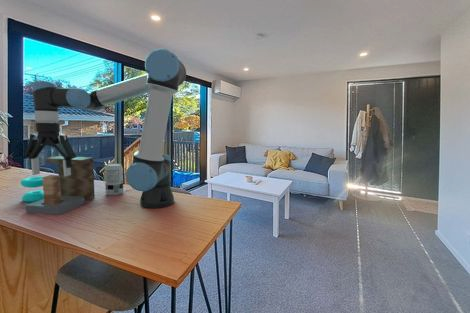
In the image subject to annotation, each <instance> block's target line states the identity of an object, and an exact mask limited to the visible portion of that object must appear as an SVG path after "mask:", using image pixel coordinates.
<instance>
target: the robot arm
mask: <svg viewBox="0 0 470 313" xmlns="http://www.w3.org/2000/svg"><path fill="white" fill-rule="evenodd" d="M144 68H145V72H146V74H142V75H139V76H136V77H132V78H129V79H125V80H123V81H120V82H117V83H114V84H110V85H106V86H103V87H100V88H98V89H94V90H92V91H91V90H90V91H87V90H86V89H84V88H83V87H82V88H78V87H58V86H57V84H56V83H55V82H53V81H46V80H45V81H43V80H35V81H33V82H32V98H33V107H34V110H33V111H34V121H35V131H36V133H30V135H29V141H28V144H27V146H26V149H25V151H24V153H23V157H25V158H28V159H29V165H30V167H31V172H32V176H35V175H40V174H41V172H40V159H39V157H38V156H39V155H40V153H41V152H42V151H43V149H44V147H46V146H47V147H53V148H55V150H56V151H57V152H58V153H59V154H60V156H63V158H64V160H63V169H64V176H69V175H71V168H70V167H72V161H71V160H72V159H73V158H76V157H77V155H76V152H75V151H74V149H73V147H72V145H71V143H70V141H69V139H68V135H67V134H60V133H61V129H60V127H61V126H60V125H61V124H60V123H59V121H60V115H59V113H60V112H59V108H67V109H68V108H69V109H82V110H90V111H100V110H102V109H104V107H107V106H110V105H113V104H116V103H119V102H120V103H121V102H123V101H126V100H129V99H132V98H135V97H136V98H137V97H139V96H142V95H145V94H148V98H147V102H146V108H145V114H144V118H143V119H144V120H143V126H142V130H141V137H140V141H139V147H138V151H136V152H134V154H133V156H132V163H131V164H130V165H129V166H128V167H127V169H126V171H125V179H126V182H127V184H128V186H130V187H131V189H133V190H135V191H137V192H142V193H141V195H140V200H139V204H140V206H141V207H144V208H147V209H148V208H149V209H160V208H166V207H169V206H172V205H173V204H174V203H175V197H174V193H173V190H172V187H171V164H172V163H171V162H172V161H171V156H170V155H169V154H162V151H163V148H164V147H163V146H164V141H165V136H166V130H167V125H168V121H169V115H170V110H171V104H172V99H173V96H174V95H175V94H177V93H178V90H179V87H180V86H181V85H183V83H184V82H185V81H186V77H187V70H186V66H185V65H184V64H183V62H182V61H180V59H179V58H178V56H177V55H176V54H175V53H173V52H171V51H170V50H168V49H165V48H157V49H154V50H152V51H150V53H149V54H148V55H147V56H146V57H145V61H144Z"/></svg>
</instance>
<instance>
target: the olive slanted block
mask: <svg viewBox="0 0 470 313" xmlns="http://www.w3.org/2000/svg"><path fill="white" fill-rule="evenodd" d="M63 160H64V158H63V156H62V155H57V156H52V157H50V156H49V157H45V163H46V164H57V173H58V176H60V187H61V196H77V197H84V201H85V200H88V201H93V200H94V199H95V197H96V196H95V175H94V174H95V172H94V157H91V156H87V157H86V156H76V158H73V159H72V160H71V161H72V167H70V168H71V175H69V176H64V169H63Z"/></svg>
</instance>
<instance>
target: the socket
mask: <svg viewBox="0 0 470 313" xmlns="http://www.w3.org/2000/svg"><path fill="white" fill-rule="evenodd" d="M84 204H85V200H84V197H77V196H61V202H60V203H58V204H55V205H44V199H42V200H39V201H36V202H30V203H28V204H25V213H27V214H28V213H29V214H39V215H40V214H43V215H52V216H53V215H56V216H60V215H62V214H64V213H67V212H69V211H70V210H74V209H75V208H77V207H80V206H82V205H84Z"/></svg>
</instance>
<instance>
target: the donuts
mask: <svg viewBox="0 0 470 313" xmlns="http://www.w3.org/2000/svg"><path fill="white" fill-rule="evenodd" d="M42 177H43V176H32V177H31V176H29V177H26V178H24V179H22V180H21V181H20V185H21V186H22V187H24V188H29V189H30V188H41V187H43V178H42ZM42 199H44V193H43V189H42V190H41V189H40V190H31V191H28V192H26V193H24V194H23V195H22V197H21V200H22V201H23V202H25V203H34V202H36V201H39V200H42Z"/></svg>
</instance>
